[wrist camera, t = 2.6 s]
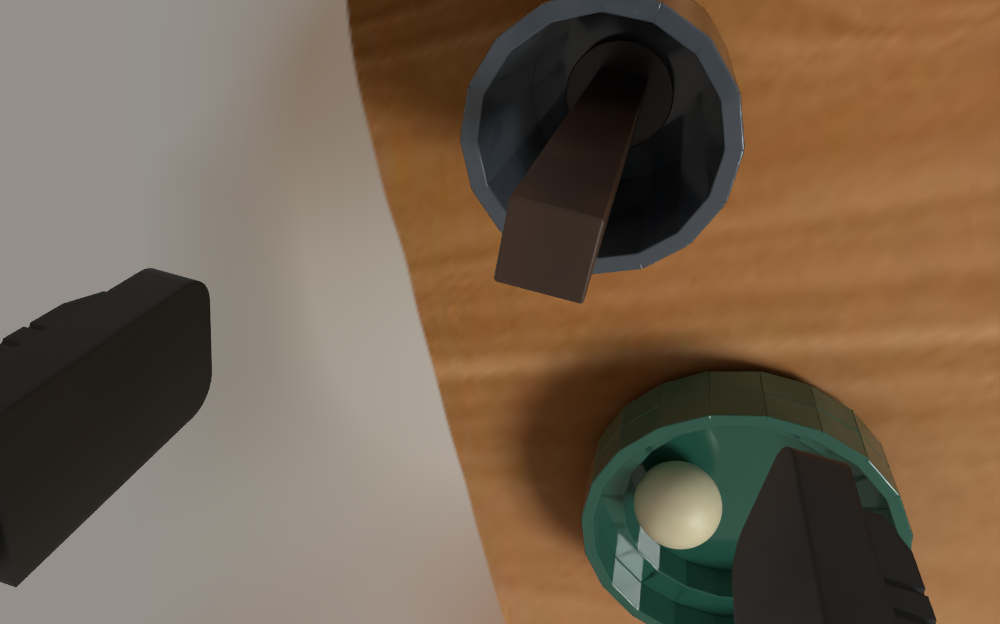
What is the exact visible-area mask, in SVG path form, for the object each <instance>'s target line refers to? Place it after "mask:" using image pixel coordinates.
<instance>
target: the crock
mask: <svg viewBox="0 0 1000 624" xmlns="http://www.w3.org/2000/svg"><path fill="white" fill-rule="evenodd" d="M618 36H629V37H635V38H639V39H642V40H644V41H646V42H648V43H650V44H651V45H653V46H654V47H655V48H657V49H658V50H659V51H660V52H661V53H662V54H663V56H664V57H665V59H666V60H667V62H668V64H669V66H670V68H671V71H672V74H673V79H674V99H673V104H672V109H671V111H670V114H669V116H668V118H667V120H666V122H665V124H664V125H663V127H662V128H661V129H660V130H659V131H658V133H657V134H655V135H654V136H653V137H652V138H651V139H649V140H648V141H646V142H644V143H642V144H640V145H638V146H635V147H632V148H629V152H628V155H627V158H626V162H625V165H624V168H623V172H622V175H621V178H620V182H619V185H618V188H617V192H616V195H615V199H614V202H613V205H612V209H611V212H610V215H609V219H608V222H607V225H606V229H605V232H604V235H603V239H602V242H601V245H600V249H599V252H598V256H597V259H596V262H595V266H594V269H593V272H592V274H599V273H608V272H617V271H627V270H636V269H642V268H645V267H647V266H649V265H651V264H653V263H655V262H657V261H659V260H661V259H663V258H665V257H667V256H669V255H671V254H673V253H675V252H677V251H678V250H680V249H682V248H684V247H686V246H688V245H689V244H690V243H692V242H693V241H694V240H695V238H696V237H697V236H698V235H699V234H700V233H701V232H702V231H703V229H704V228H705V227H706V226H707V225H708V224H709V223H710V221H711V220H712V219H713V218H714V217H715V216H716V215H717V214H718V212H719V211H720V210H721V209H722V208H723V207H724V206H725V203H726V202H727V200H728V197H729V194H730V192H731V189H732V186H733V183H734V180H735V177H736V174H737V171H738V168H739V166H740V163H741V160H742V157H743V154H744V148H745V144H744V131H743V118H742V104H741V93H740V90H739V86H738V83H737V80H736V77H735V73H734V70H733V67H732V63H731V60H730V57H729V53H728V50H727V47H726V45H725V44H724V42H723V40H722V38H721V36H720V34H719V32H718V30H717V28H716V26H715V25H714V23H713V21H712V20H711V18H710V16H709V14H708V12H707V11H706V10H705V9H704V8H703V7H701V6H700V5H699V4H698V3H697V2H696V1H694V0H549V1H547V2H545V3H542V4H541V5H539V6H538V7H537V8H535V9H534V10H533V11H531V12H530V13H529V14H527V15H526V16H524V17H523V18H522V19H520V20H519V21H518V22H516V23H515V24H514V25H512V26H511V27H509V28H508V29H507V30H505V31H504V32H503V33H501V34H500V35H499V36H498V38H496V39H495V40H494V42H493V44H492V46H491V47H490V49H489V51H488V52H487V54H486V56H485V57H484V59H483V61H482V62H481V64H480V66H479V67H478V69H477V71H476V73H475V74H474V76H473V78H472V79H471V81H470V83H469V86H468V88H467V94H466V101H465V108H464V115H463V122H462V128H461V135H460V138H461V140H460V142H461V147H462V151H463V155H464V159H465V164H466V168H467V172H468V176H469V181H470V185H471V189H472V190H473V192H474V194H475V195H476V197H477V198H478V200H479V201H480V203H481V204H482V206H483V207H484V209H485V210H486V212H487V213H488V214H489V216H490V217H491V219H492V220H493V222H494V223H495V225H496V226H497V228H498V229H499V231H502V234H503V228H504V223H505V218H506V212H507V207H508V202H509V197H510V196H511V194H512V193H513V192H514V190H515V189H516V187H517V186H518V184H519V183H520V182H521V180H522V179H523V177H524V176H525V174H526V173H527V172H528V170H529V169H530V167H531V166H532V164H533V163H534V162H535V160H536V159H537V157H538V156H539V154H540V153H541V152H542V150H543V149H544V147H545V146H546V144H547V143H548V142H549V140H550V139H551V137H552V136H553V134H554V133H555V132H556V130H557V129H558V127H559V126H560V125H561V123H562V122H563V120H564V119H565V117H566V116H567V115H568V110H567V106H566V86H567V82H568V78H569V76H570V73H571V71H572V69H573V67H574V66H575V64H576V63H577V61H578V60H579V59H580V58H581V57H582V56H583V54H584V53H585V52H586V51H587V50H588V49H590V48H591V47H592V46H594V45H595V44H597V43H599V42H601V41H603V40H605V39H608V38H612V37H618Z"/></svg>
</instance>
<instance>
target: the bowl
mask: <svg viewBox="0 0 1000 624" xmlns="http://www.w3.org/2000/svg"><path fill="white" fill-rule="evenodd" d="M784 447H791V448H794V449H798V450H801V451H805V452H809V453H812V454H816V455H819V456H823V457H827V458H830V459H834V460H837V461H841V462H845V463H847V464H848V465H849V467H850V468H851V471H852V474H853V477H854V480H855V484H856V487H857V491H858V494H859V497H860V501H861V504H862V508H863V510H866V511H870V512H874V513H877V514H881V515H883V516H884V517H885V518H886V519H887V521H888V522H889V523H890V524H891V526H892V527H893V528H894V529H895V531H896V532H897V533H898V535H899V536H900V537H901V538H902V540H903V541H904V542H905V543H906V545H907V546H908V547H909V548H910V550H911V547H912V539H913V534H912V530H911V527H910V524H909V521H908V518H907V515H906V512H905V509H904V506H903V503H902V500H901V497H900V494H899V491H898V489H897V486H896V483H895V480H894V478H893V475H892V472H891V470H890V467H889V464H888V462H887V459H886V456H885V453H884V451H883V448H882V445H881V443H880V442H879V441H878V440H877V438H876V437H875V436H874V435H873V434H872V433H871V431H870V430H869V429H868V428H867V427H866V426H865V424H864V423H863V422H862V421H861V420H860V418H859V417H858V416H857V415H856V414H855V413H854V411H853V410H851V409H849V408H848V407H846V406H844V405H843V404H841V403H839V402H838V401H836V400H834V399H833V398H831V397H829V396H828V395H826V394H824V393H823V392H821V391H819V390H818V389H816V388H814V387H813V386H811V385H809V384H807V383H803V382H799V381H795V380H792V379H788V378H784V377H780V376H777V375H773V374H769V373H765V372H762V371H760V372H758V371H710V372H708V371H706V372H702V373H699V374H695V375H691V376H688V377H684V378H680V379H676V380H673V381H669V382H665V383H662V384H660V385H659V386H657V387H655V388H654V389H652V390H651V391H649V392H647V393H646V394H644V395H642V396H641V397H639V398H638V399H636V400H634V401H633V402H631V403H629V404H628V405H626V406H625V407H624V408H623V409H622V410H621V412H620V413H619V414H618V415H617V417H616V418H615V419H614V420H613V422H612V423H611V424H610V425H609V426H608V428H607V429H606V430H605V431H604V433H603V434H602V435H601V437H600V439H599V442H598V446H597V449H596V452H595V455H594V459H593V462H592V465H591V469H590V473H589V478H588V484H587V489H586V494H585V499H584V505H583V510H582V515H581V522H582V531H583V539H584V548H585V554H586V556H587V558H588V560H589V561H590V563H591V565H592V567H593V569H594V571H595V573H596V575H597V577H598V579H599V580H600V582H601V584H602V586H603V587H604V588H605V589H606V590H607V591H608V592H609V593H610V594H611V595H612V596H613V597H614V598H615V599H616V600H617V601H618V602H619V603H620V604H621V605H622V606H623V607H624V608H625V609H626V610H627V611H628V612H629V613H630V614H632V616H634V617H636V618H637V619H639V620H641V621H643V622H644V623H646V624H735V622H734V606H733V589H732V569H733V561H734V555H735V550H736V546H737V543H738V539H739V536H740V534H741V531H742V529H743V527H744V524H745V522H746V520H747V518H748V516H749V514H750V512H751V509H752V507H753V505H754V503H755V501H756V499H757V496H758V494H759V492H760V490H761V488H762V486H763V483H764V481H765V479H766V477H767V475H768V473H769V471H770V468H771V466H772V464H773V462H774V460H775V458H776V456H777V454H778V453H779V452H780V450H781V449H782V448H784ZM667 461H684V462H688V463H691V464H693V465H696V466H698V467H699V468H701V469H702V470H704V471H705V472H706V473H707V474H708V475H709V476H710V477H711V478H712V479H713V481H714V482H715V484H716V486H717V487H718V490H719V493H720V495H721V500H722V516H721V520H720V523H719V525H718V527H717V529H716V531H715V532H714V533H713V535H712V536H711V537H710V538H709V539H708V540H707V541H705V542H704V543H702V544H700V545H699V546H696V547H693V548H689V549H672V548H668V547H665V546H663V545H661V544H659V543H657V542H655V541H654V540H653V539H651V538H650V537H649V536H648V535H647V534H646V533H645V532H644V530H643V529H642V527H641V526H640V524H639V522H638V520H637V517H636V514H635V509H634V496H635V491H636V488H637V486H638V483H639V481H640V480H641V478H642V477H643V475H644V474H645V473H646V472H647V471H649V470H650V469H651V468H652V467H654V466H656V465H658V464H660V463H663V462H667Z"/></svg>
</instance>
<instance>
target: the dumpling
mask: <svg viewBox="0 0 1000 624" xmlns="http://www.w3.org/2000/svg"><path fill="white" fill-rule="evenodd" d="M634 509H635V514H636V517H637V520H638V522H639V524H640V526H641V527H642V529H643V530H644V532H645V533H646V534H647V535H648V536H649V537H650V538H651V539H653V540H654V541H655V542H657V543H659V544H661V545H663V546H665V547H668V548H672V549H689V548H693V547H696V546H699V545H700V544H702V543H704V542H705V541H707V540H708V539H709V538H710V537H711V536H712V535H713V533H714V532H715V531H716V529H717V527H718V525H719V523H720V520H721V516H722V500H721V495H720V493H719V490H718V487H717V486H716V484H715V482H714V481H713V479H712V478H711V477H710V476H709V475H708V474H707V473H706V472H705V471H704V470H702V469H701V468H699V467H698V466H696V465H693V464H691V463H688V462H684V461H667V462H663V463H660V464H658V465H656V466H654V467H652V468H651V469H650V470H649V471H647V472H646V473H645V474H644V475H643V477H642V478H641V480H640V481H639V483H638V486H637V488H636V491H635V496H634Z"/></svg>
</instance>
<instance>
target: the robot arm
mask: <svg viewBox="0 0 1000 624" xmlns="http://www.w3.org/2000/svg"><path fill="white" fill-rule="evenodd" d="M211 377H212V360H211V324H210V297H209V292H208V290H207V287H206V286H205V284H203V283H202V282H199V281H196V280H193V279H189V278H185V277H182V276H178V275H175V274H171V273H168V272H164V271H160V270H156V269H153V268H148V269H144V270H142V271H140V272H138V273H137V274H135V275H133V276H132V277H130V278H128V279H127V280H125V281H123V282H122V283H120V284H119V285H117V286H115V287H114V288H112V289H110V290H109V291H107V292H100V293H97V294H93V295H90V296H87V297H84V298H80V299H77V300H74V301H70V302H67V303H64V304H62V305H60V306H58V307H56V308H55V309H53V310H51V311H50V312H48V313H46V314H44V315H43V316H41V317H39V318H38V319H36V320H34V321H32V322H31V323H30V326H29V327H28V328H27V327H22V328H21V329H19V330H17V331H15V332H14V333H12V334H10V335H8V336H7V337H5V338H3V342H2V343H1V344H0V582H2V583H5V584H8V585H11V586H14V587H17V586H18V585H19V584H20V583H21V582H22V581H23V580H24V579H25V578H26V577H27V576H28V575H29V574H30V573H31V572H32V571H33V570H35V569H36V568H37V567H38V566H39V565H40V564H41V563H42V562H43V561H44V560H45V559H46V558H47V557H48V556H49V555H50V554H51V553H52V552H53V551H54V550H55V549H56V548H57V547H58V546H59V545H60V544H62V543H63V542H64V541H65V540H66V539H67V538H68V537H69V536H70V535H71V534H72V533H73V532H74V531H75V530H76V529H77V528H78V527H79V526H80V525H81V524H82V523H83V522H84V521H85V520H86V519H87V518H89V517H90V516H91V515H92V514H93V513H94V512H95V511H96V510H97V509H98V508H99V507H100V506H101V505H102V504H103V503H104V502H105V501H106V500H107V499H108V498H109V497H110V496H111V495H113V493H114V492H116V491H117V490H118V489H119V488H120V487H121V486H122V485H123V484H124V483H125V482H126V481H127V480H128V479H129V478H130V477H131V476H132V475H133V474H134V473H135V472H136V471H137V470H138V469H140V468H141V467H142V466H143V465H144V464H145V463H146V462H147V461H148V460H149V459H150V458H151V457H152V456H153V455H154V454H155V453H156V452H157V451H158V450H159V449H160V448H161V447H162V446H163V445H164V444H166V443H167V442H168V441H169V440H170V439H171V438H172V437H173V436H174V435H175V434H176V433H177V432H178V431H179V430H180V429H181V428H182V427H183V426H184V425H185V424H186V423H187V422H188V421H189V420H190V419H192V418H193V417H194V415H195V414H196V413H197V412H198V411H199V409H200V408H201V406H202V404H203V403H204V400H205V398H206V396H207V394H208V391H209V387H210V383H211ZM732 589H733V606H734V622H735V624H935V623H936V618H935V615H934V612H933V609H932V606H931V604H930V601H929V598H928V596H925V595H924V591H925V587H924V584H923V581H922V578H921V575H920V573H919V570H918V567H917V564H916V561H915V559H914V556H913V553H912V551H911V550H910V548H909V547H908V546H907V545H906V543H905V542H904V541H903V540H902V538H901V537H900V536H899V535H898V533H897V532H896V531H895V529H894V528H893V527H892V526H891V524H890V523H889V522H888V521H887V519H886V518H885V517H884V516H883V515H881V514H877V513H874V512H870V511H866V510H863V508H862V504H861V501H860V497H859V494H858V491H857V487H856V484H855V480H854V477H853V474H852V471H851V468H850V467H849V465H848V464H847V463H845V462H841V461H837V460H834V459H830V458H827V457H823V456H819V455H816V454H812V453H809V452H805V451H801V450H798V449H794V448H791V447H784V448H782V449H781V450H780V452H779V453H778V454H777V456H776V458H775V460H774V462H773V464H772V466H771V468H770V471H769V473H768V475H767V477H766V479H765V481H764V483H763V486H762V488H761V490H760V492H759V494H758V496H757V499H756V501H755V503H754V505H753V507H752V509H751V512H750V514H749V516H748V518H747V520H746V522H745V524H744V527H743V529H742V531H741V534H740V536H739V539H738V543H737V546H736V550H735V555H734V561H733V569H732Z"/></svg>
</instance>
